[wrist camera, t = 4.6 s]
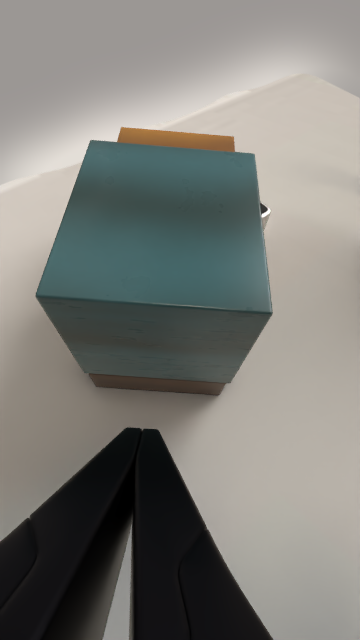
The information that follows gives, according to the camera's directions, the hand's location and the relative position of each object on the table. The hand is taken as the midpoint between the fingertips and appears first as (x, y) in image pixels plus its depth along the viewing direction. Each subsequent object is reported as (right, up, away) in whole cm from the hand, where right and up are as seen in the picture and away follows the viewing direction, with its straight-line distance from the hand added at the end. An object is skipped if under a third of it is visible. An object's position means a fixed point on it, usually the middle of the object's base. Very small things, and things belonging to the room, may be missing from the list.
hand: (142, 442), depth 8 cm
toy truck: (0, +5, +11) cm, 13 cm away
